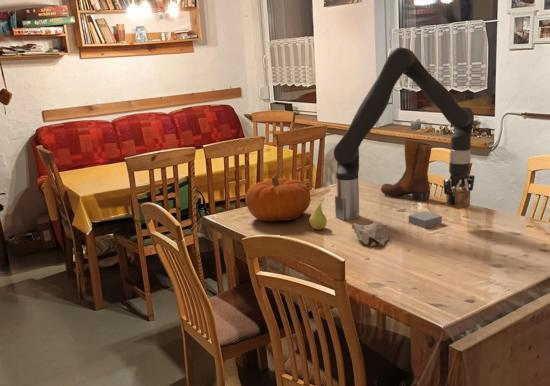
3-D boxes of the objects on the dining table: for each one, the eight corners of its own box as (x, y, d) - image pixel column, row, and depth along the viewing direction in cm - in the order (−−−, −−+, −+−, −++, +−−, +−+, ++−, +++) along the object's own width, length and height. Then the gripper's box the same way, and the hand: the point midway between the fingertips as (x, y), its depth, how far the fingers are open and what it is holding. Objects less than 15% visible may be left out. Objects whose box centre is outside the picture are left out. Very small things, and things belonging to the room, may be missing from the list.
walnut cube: (458, 209, 209) (458, 194, 208) (446, 205, 214) (447, 190, 213) (469, 206, 212) (470, 191, 210) (458, 202, 217) (458, 188, 215)
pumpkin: (261, 233, 223) (257, 185, 218) (237, 216, 248) (234, 172, 243) (323, 220, 234) (321, 174, 229) (294, 205, 259) (292, 163, 254)
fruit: (306, 229, 223) (305, 201, 220) (318, 224, 229) (316, 196, 226) (319, 232, 219) (318, 203, 216) (331, 227, 224) (330, 199, 221)
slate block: (424, 229, 216) (424, 220, 215) (408, 223, 224) (408, 215, 223) (441, 224, 220) (441, 216, 219) (425, 219, 228) (425, 211, 227)
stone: (345, 249, 209) (381, 259, 200) (342, 231, 204) (379, 240, 196) (364, 226, 218) (399, 234, 210) (361, 209, 214) (397, 216, 205)
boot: (377, 195, 266) (376, 140, 259) (390, 191, 271) (389, 137, 265) (421, 204, 247) (421, 145, 240) (433, 199, 252) (434, 141, 245)
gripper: (466, 156, 215) (464, 198, 219) (438, 161, 209) (437, 204, 213) (481, 159, 208) (479, 202, 213) (453, 165, 202) (451, 209, 207)
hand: (458, 203), depth 213 cm, fingers closed on walnut cube, 6 cm apart
